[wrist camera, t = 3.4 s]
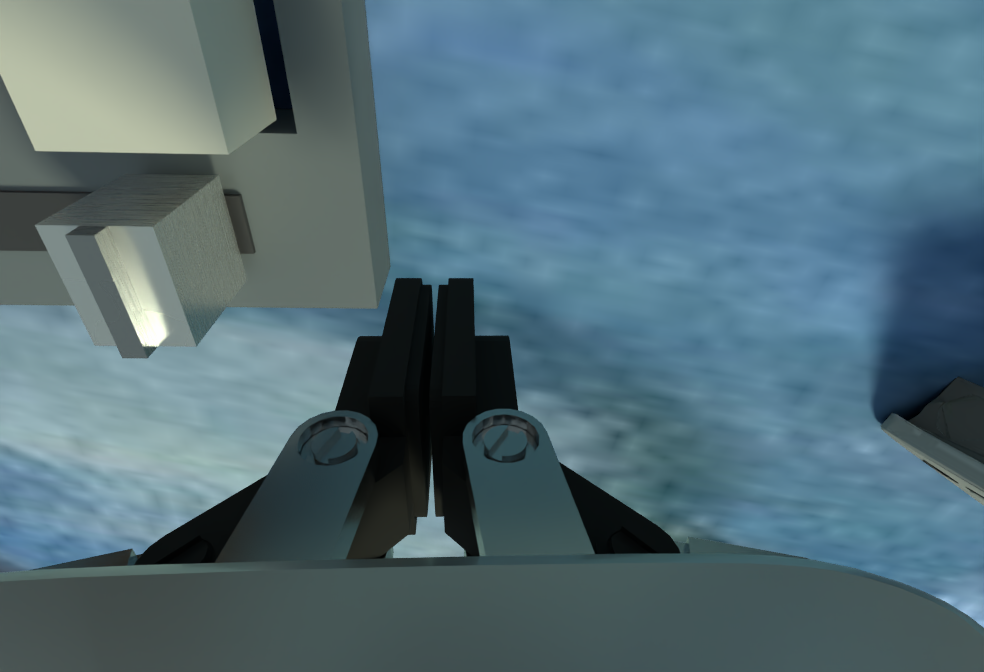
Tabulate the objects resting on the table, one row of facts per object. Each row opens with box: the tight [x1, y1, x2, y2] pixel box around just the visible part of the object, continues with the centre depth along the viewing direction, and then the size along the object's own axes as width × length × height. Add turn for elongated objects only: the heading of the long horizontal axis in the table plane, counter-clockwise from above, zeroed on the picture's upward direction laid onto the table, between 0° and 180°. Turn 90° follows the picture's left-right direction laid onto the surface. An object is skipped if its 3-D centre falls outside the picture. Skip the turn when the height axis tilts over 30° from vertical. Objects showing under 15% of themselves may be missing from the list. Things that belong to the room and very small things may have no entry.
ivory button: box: [0, 0, 277, 155], centre depth 11 cm, size 4×4×3 cm
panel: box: [0, 0, 390, 309], centre depth 15 cm, size 11×18×3 cm, turn 89°
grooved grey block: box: [35, 174, 247, 358], centre depth 14 cm, size 3×2×4 cm
